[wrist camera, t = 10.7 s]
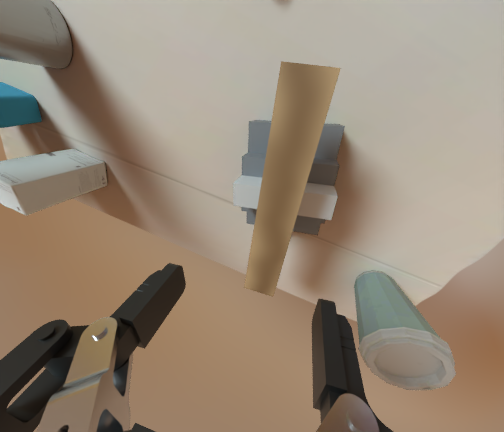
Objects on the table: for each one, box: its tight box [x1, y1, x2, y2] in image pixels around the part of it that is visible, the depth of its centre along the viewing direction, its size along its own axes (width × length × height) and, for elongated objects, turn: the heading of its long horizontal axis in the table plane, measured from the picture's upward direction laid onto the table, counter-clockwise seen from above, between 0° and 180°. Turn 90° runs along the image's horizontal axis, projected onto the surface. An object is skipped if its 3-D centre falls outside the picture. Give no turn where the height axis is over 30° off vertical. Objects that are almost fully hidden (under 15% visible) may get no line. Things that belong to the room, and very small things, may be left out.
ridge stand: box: [233, 120, 345, 235], centre depth 27 cm, size 12×16×10 cm
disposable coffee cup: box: [354, 271, 456, 390], centre depth 31 cm, size 11×11×15 cm
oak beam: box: [244, 62, 340, 296], centre depth 21 cm, size 4×24×4 cm, turn 172°
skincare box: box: [0, 149, 107, 215], centre depth 35 cm, size 8×6×15 cm
